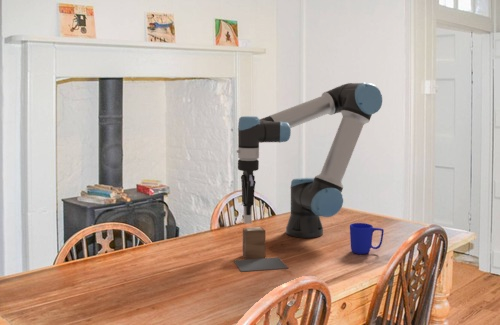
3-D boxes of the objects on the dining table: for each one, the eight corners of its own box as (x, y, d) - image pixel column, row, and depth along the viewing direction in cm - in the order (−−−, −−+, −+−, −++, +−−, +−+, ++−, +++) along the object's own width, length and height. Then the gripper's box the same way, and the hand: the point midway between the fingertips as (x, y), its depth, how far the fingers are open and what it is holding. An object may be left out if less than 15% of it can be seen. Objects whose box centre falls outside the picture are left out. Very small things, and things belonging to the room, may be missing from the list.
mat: (233, 261, 198) (233, 260, 198) (278, 258, 202) (278, 257, 202) (241, 271, 187) (241, 271, 187) (288, 268, 191) (288, 267, 191)
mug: (383, 256, 204) (384, 229, 203) (348, 254, 206) (349, 227, 205) (382, 250, 212) (383, 224, 211) (349, 248, 214) (350, 222, 213)
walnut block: (242, 255, 205) (242, 227, 204) (261, 254, 207) (261, 226, 206) (245, 259, 200) (245, 231, 199) (265, 258, 202) (265, 229, 201)
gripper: (234, 157, 213) (233, 219, 216) (242, 161, 201) (241, 227, 204) (254, 156, 215) (253, 218, 218) (262, 161, 203) (261, 226, 206)
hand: (247, 222), depth 211 cm, fingers closed
